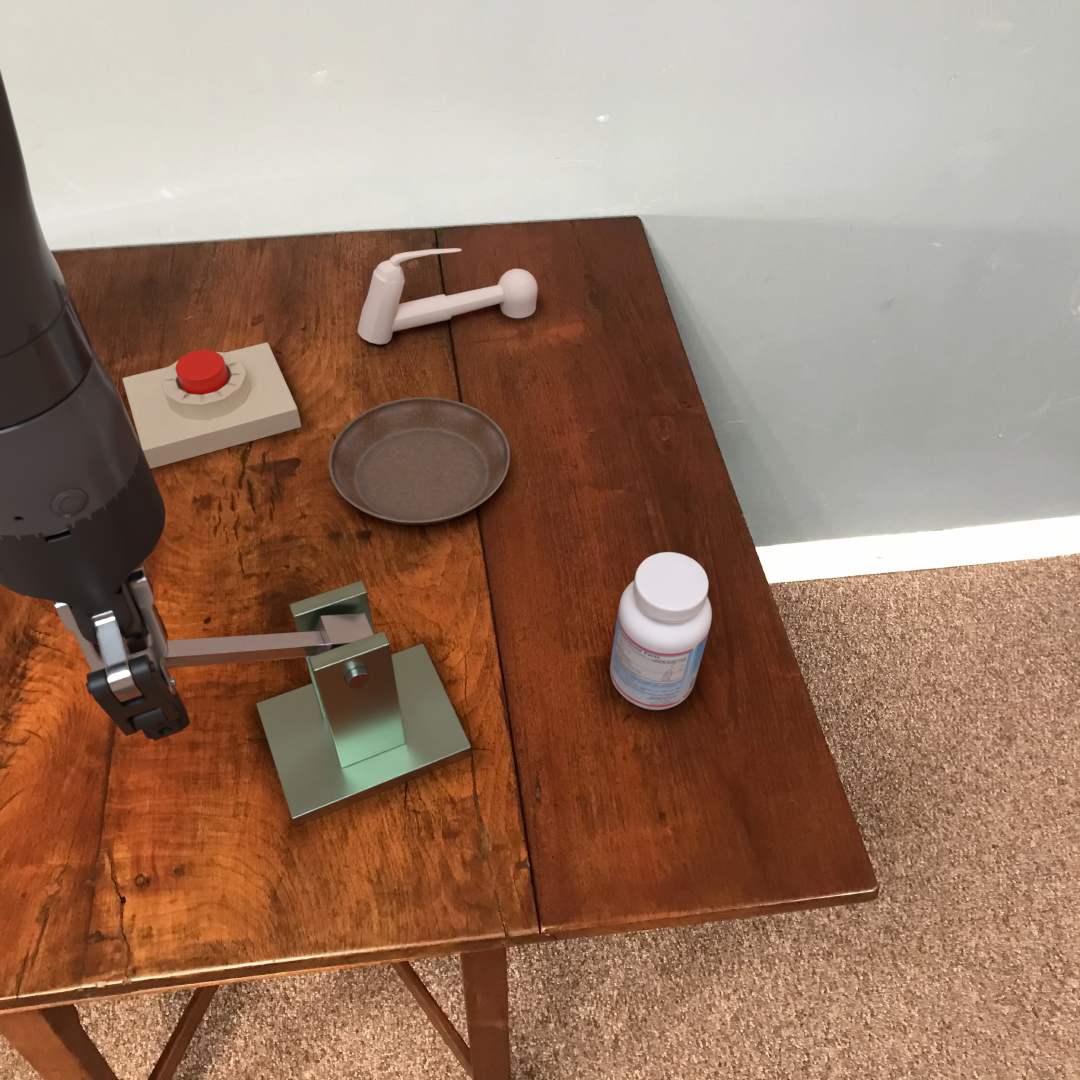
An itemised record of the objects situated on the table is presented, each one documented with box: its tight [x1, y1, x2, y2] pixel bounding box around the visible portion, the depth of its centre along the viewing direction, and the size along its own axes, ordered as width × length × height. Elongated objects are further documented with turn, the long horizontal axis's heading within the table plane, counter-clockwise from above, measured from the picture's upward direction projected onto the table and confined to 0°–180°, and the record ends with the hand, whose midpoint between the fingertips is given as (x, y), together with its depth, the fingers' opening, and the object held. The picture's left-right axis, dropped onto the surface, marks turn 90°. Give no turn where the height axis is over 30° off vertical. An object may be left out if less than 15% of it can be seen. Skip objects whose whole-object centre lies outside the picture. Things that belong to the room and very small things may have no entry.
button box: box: [121, 342, 302, 469], centre depth 82 cm, size 13×10×4 cm
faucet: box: [357, 247, 539, 345], centre depth 91 cm, size 4×18×10 cm, turn 112°
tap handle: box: [125, 613, 374, 669], centre depth 52 cm, size 13×5×2 cm, turn 115°
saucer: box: [328, 396, 511, 526], centre depth 78 cm, size 15×15×3 cm
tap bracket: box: [255, 580, 473, 827], centre depth 58 cm, size 12×9×13 cm
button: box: [176, 349, 228, 395], centre depth 80 cm, size 4×4×2 cm
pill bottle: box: [609, 551, 713, 711], centre depth 63 cm, size 6×6×11 cm
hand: (158, 683), depth 50 cm, fingers closed on tap handle, 5 cm apart
